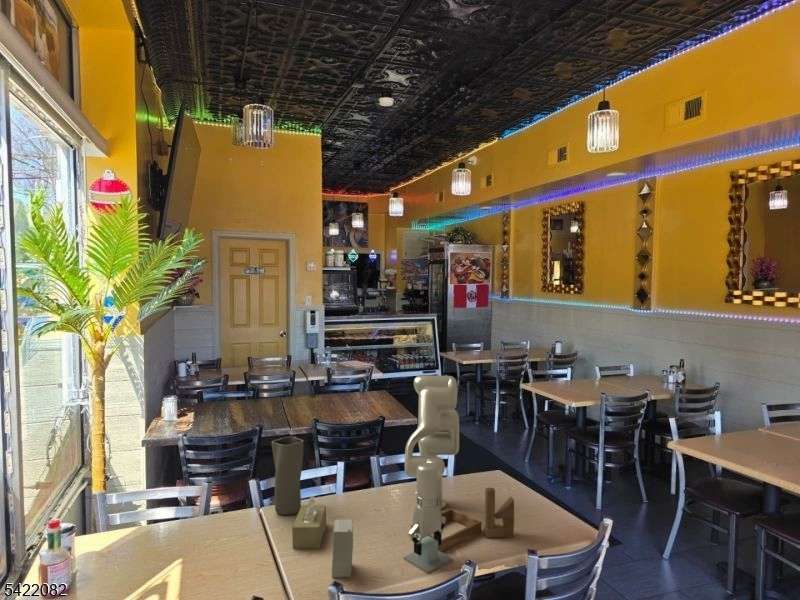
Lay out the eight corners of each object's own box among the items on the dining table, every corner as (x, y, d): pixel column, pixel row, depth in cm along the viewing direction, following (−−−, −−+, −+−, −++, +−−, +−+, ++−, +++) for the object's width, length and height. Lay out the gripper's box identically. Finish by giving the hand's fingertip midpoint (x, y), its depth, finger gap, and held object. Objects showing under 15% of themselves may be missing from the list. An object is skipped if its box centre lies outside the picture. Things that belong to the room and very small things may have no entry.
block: (417, 557, 176) (417, 540, 176) (427, 552, 180) (427, 535, 180) (427, 563, 173) (427, 546, 173) (438, 558, 176) (438, 541, 176)
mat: (403, 558, 177) (403, 557, 177) (427, 546, 185) (427, 545, 185) (427, 573, 168) (427, 571, 168) (452, 560, 176) (452, 558, 176)
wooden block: (514, 536, 192) (514, 489, 191) (486, 538, 191) (486, 491, 190) (511, 532, 195) (511, 486, 195) (483, 533, 194) (483, 487, 194)
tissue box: (319, 549, 184) (318, 506, 183) (292, 549, 184) (291, 506, 183) (326, 524, 203) (325, 485, 202) (301, 524, 202) (301, 485, 202)
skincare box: (332, 564, 173) (332, 519, 173) (353, 563, 174) (353, 518, 173) (331, 579, 165) (330, 531, 164) (353, 577, 166) (353, 530, 165)
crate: (411, 535, 193) (411, 525, 193) (450, 517, 207) (450, 508, 207) (441, 552, 181) (441, 541, 181) (481, 532, 196) (481, 521, 195)
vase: (309, 511, 214) (308, 441, 213) (282, 520, 206) (281, 447, 205) (294, 502, 223) (294, 434, 222) (268, 510, 215) (267, 440, 214)
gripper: (437, 489, 184) (437, 536, 185) (401, 504, 173) (402, 553, 173) (452, 496, 179) (452, 544, 179) (417, 511, 167) (417, 562, 168)
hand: (427, 548), depth 176 cm, fingers open, 9 cm apart
